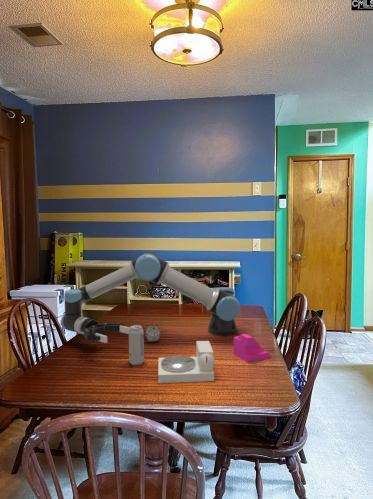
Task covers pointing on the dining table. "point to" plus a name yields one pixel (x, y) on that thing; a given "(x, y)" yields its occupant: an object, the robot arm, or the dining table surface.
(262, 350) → the bracket
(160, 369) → the scale
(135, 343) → the energy drink can
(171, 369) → the scale pan
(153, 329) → the grey rounded lump
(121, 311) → the dining table surface
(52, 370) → the dining table surface
